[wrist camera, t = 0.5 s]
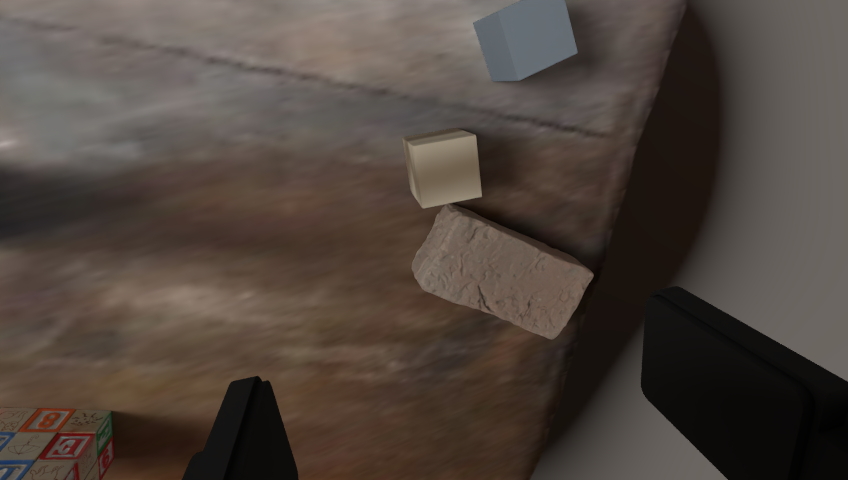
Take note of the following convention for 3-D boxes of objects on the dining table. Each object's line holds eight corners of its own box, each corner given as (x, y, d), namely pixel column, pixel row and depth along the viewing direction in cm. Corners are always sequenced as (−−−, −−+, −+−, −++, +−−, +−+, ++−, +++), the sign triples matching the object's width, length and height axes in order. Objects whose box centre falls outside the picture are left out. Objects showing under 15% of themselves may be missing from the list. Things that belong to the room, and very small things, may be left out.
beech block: (402, 137, 38) (413, 146, 32) (456, 127, 38) (476, 135, 33) (410, 191, 39) (422, 208, 34) (462, 181, 40) (481, 196, 34)
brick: (407, 271, 42) (415, 292, 38) (444, 197, 40) (457, 210, 36) (537, 319, 48) (557, 343, 43) (576, 256, 46) (601, 274, 41)
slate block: (472, 23, 35) (497, 11, 30) (525, -2, 36) (560, -18, 30) (492, 81, 37) (518, 80, 32) (542, 57, 37) (577, 52, 32)
